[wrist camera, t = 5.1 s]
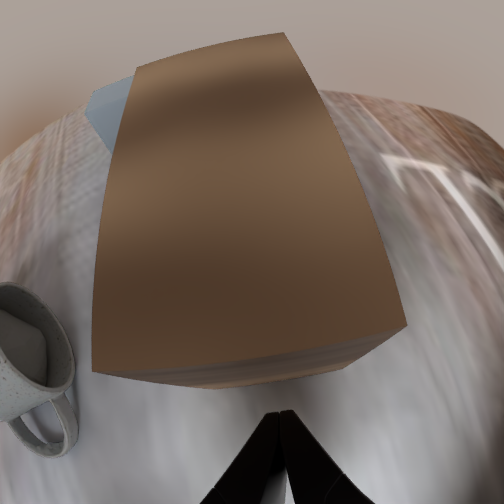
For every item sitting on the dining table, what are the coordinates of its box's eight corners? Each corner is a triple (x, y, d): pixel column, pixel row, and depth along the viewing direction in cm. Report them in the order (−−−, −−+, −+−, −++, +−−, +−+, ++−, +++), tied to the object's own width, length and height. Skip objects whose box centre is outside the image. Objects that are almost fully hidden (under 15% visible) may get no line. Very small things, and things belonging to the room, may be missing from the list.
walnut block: (342, 368, 15) (407, 325, 6) (214, 389, 16) (92, 371, 6) (296, 176, 21) (283, 32, 12) (199, 196, 22) (137, 67, 12)
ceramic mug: (1, 349, 19) (-67, 323, 12) (58, 301, 20) (-16, 260, 13) (42, 468, 14) (-36, 473, 7) (112, 435, 15) (24, 442, 8)
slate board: (289, 132, 23) (281, 57, 17) (124, 172, 24) (84, 113, 18) (281, 110, 25) (272, 40, 18) (128, 148, 26) (93, 91, 19)
